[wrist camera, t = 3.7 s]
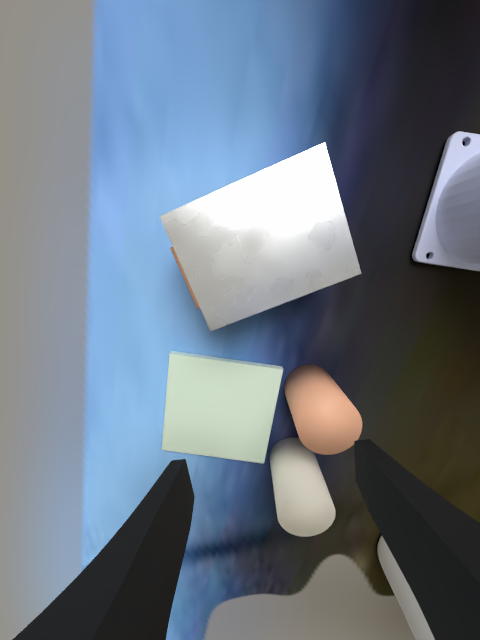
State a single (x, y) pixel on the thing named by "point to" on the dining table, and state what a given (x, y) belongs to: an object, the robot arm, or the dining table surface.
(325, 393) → the terracotta peg
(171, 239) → the block
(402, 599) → the pill bottle
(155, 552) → the robot arm
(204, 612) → the dining table surface
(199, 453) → the pad
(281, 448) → the ivory peg
